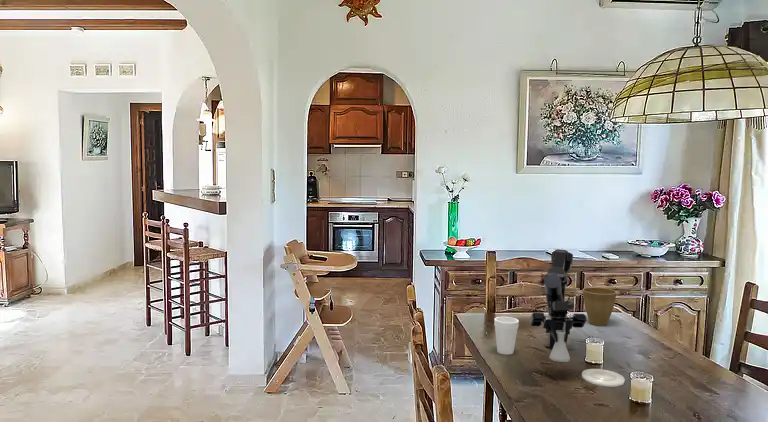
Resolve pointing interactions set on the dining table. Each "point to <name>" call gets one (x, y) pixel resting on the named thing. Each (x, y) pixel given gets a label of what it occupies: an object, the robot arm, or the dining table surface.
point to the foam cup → (506, 334)
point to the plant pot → (599, 304)
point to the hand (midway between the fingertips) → (561, 341)
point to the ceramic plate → (603, 377)
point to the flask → (560, 349)
